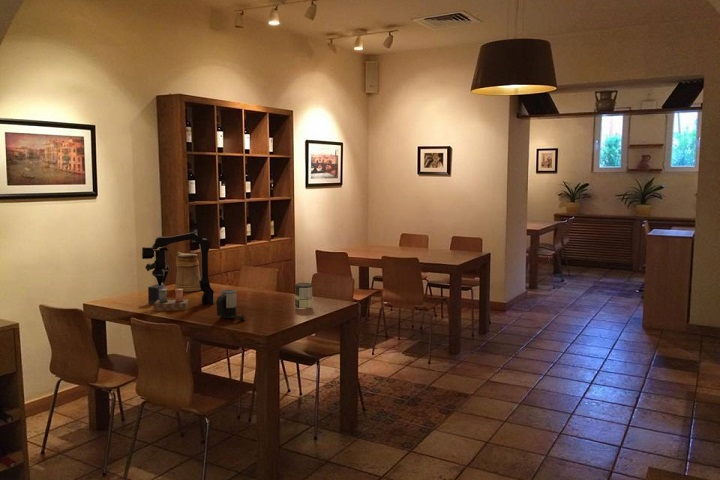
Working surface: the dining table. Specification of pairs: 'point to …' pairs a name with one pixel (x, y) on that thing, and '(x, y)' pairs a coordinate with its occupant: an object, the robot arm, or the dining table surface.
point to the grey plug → (163, 295)
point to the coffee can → (303, 295)
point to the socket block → (170, 305)
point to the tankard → (187, 272)
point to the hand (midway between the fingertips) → (161, 284)
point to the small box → (154, 293)
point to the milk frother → (227, 305)
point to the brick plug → (179, 295)
